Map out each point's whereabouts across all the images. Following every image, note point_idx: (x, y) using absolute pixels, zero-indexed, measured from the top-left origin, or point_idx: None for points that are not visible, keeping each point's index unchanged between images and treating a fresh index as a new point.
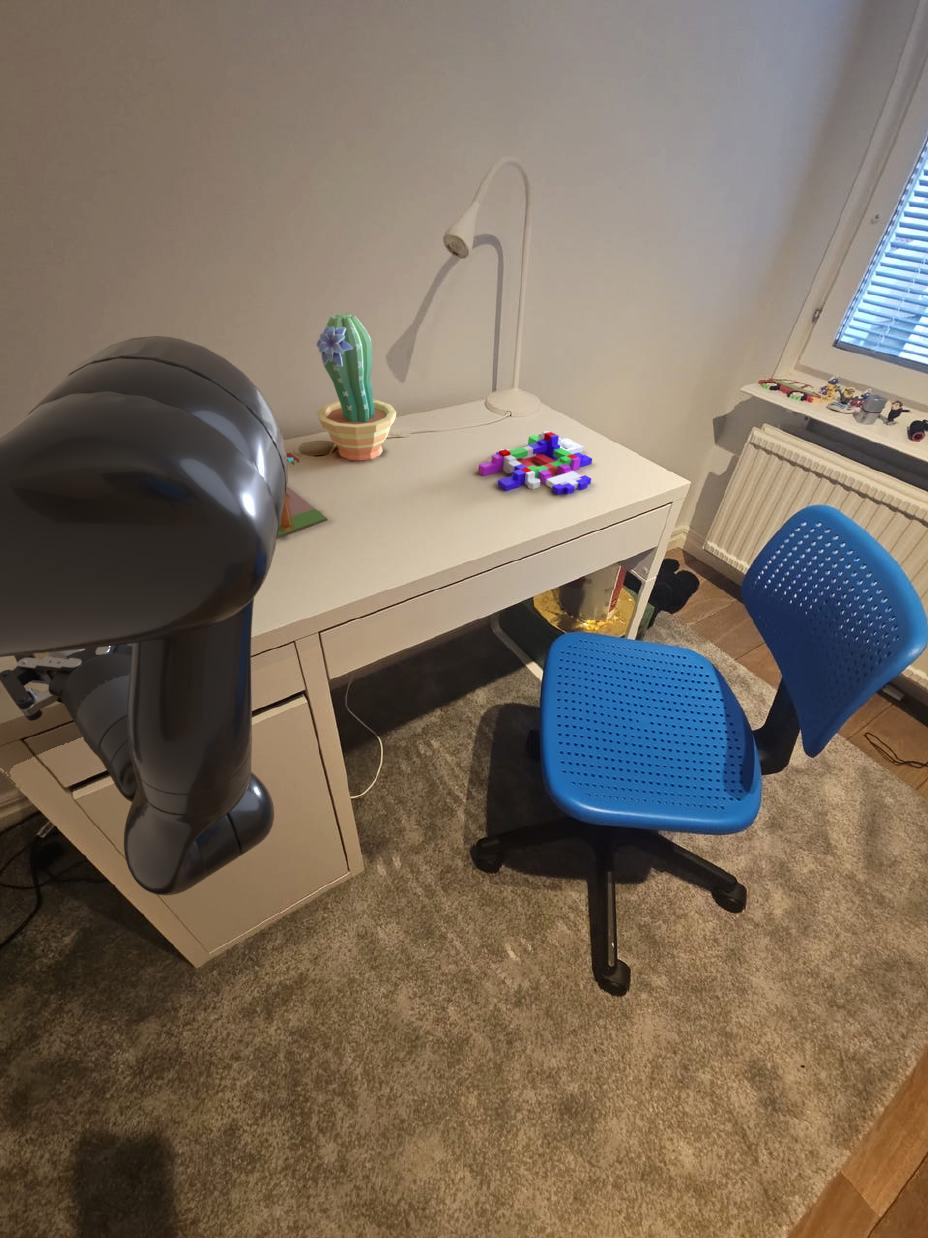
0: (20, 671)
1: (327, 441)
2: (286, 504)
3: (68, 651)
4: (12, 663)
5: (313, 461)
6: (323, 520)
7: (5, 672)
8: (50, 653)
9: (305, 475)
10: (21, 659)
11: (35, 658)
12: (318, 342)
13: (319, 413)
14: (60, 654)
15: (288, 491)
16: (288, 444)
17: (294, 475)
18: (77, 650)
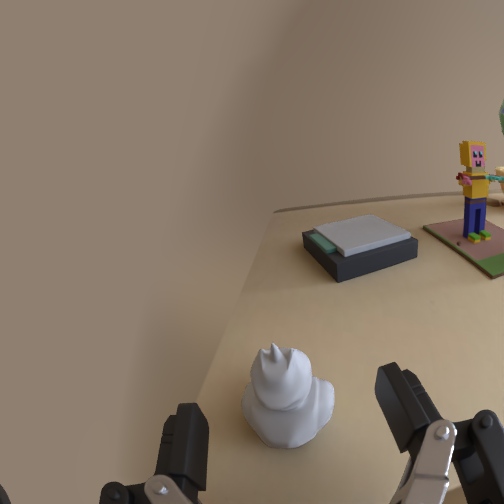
0: (147, 501)
1: (492, 198)
2: (502, 237)
3: (273, 433)
4: (203, 390)
5: (493, 209)
6: None
7: (113, 494)
8: (245, 417)
9: (496, 217)
10: (158, 475)
11: (184, 495)
12: (502, 110)
13: (497, 169)
14: (258, 430)
15: (495, 226)
16: None
17: (487, 216)
18: (289, 436)
